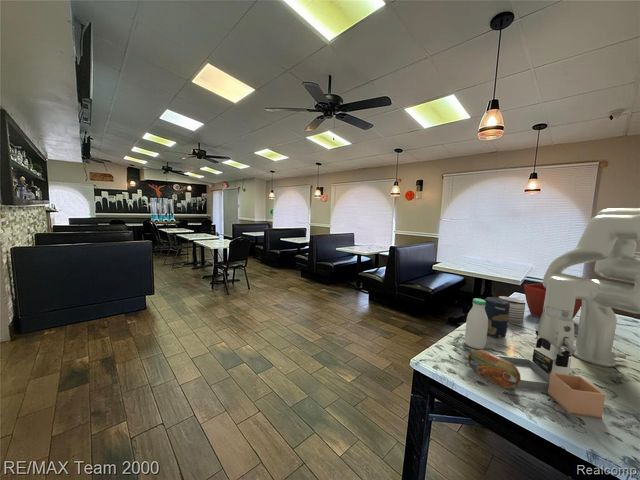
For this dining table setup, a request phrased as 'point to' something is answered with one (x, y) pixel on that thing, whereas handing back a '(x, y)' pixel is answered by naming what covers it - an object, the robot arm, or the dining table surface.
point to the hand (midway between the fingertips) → (550, 358)
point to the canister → (497, 316)
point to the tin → (494, 369)
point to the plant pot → (541, 299)
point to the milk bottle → (477, 325)
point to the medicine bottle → (549, 358)
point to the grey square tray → (529, 373)
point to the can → (515, 310)
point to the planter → (576, 395)
